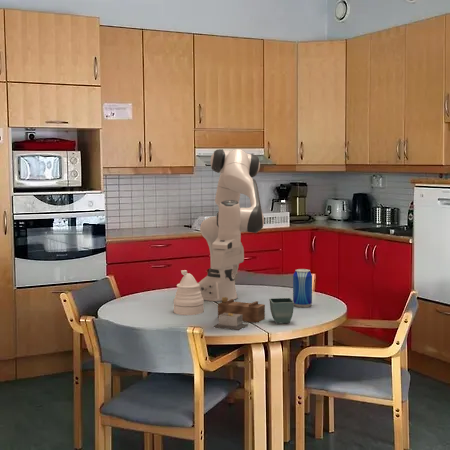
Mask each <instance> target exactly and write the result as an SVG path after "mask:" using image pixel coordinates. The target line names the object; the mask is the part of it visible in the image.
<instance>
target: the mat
mask: <svg viewBox="0 0 450 450" xmlns="http://www.w3.org/2000/svg"><path fill="white" fill-rule="evenodd" d="M248 326H249V325H248V324H247V323H243V325H241V326H239V327H228V326H220V325H219V322H218V323H217V324H215V325H214V324H213V328H214V327H215V328H216V329H217V328H218V329H222V330H223V329H225V330H231V331H232V330H234V331H240V330H242V328H243V329H244V328H246V327H248Z"/></svg>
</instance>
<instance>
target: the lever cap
mask: <svg viewBox="0 0 450 450" xmlns="http://www.w3.org/2000/svg"><path fill="white" fill-rule="evenodd" d="M218 323H219V325H220V326H228V327H239V326H241V325H243V324H244V321H243V315H241V314H233V313H223V314H220V315H219V318H218Z"/></svg>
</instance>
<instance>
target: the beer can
mask: <svg viewBox="0 0 450 450" xmlns="http://www.w3.org/2000/svg"><path fill="white" fill-rule="evenodd" d="M292 300H293V301H294V307H297V308H310V307H311V306H312V303H313V274H312V273H311V270H310V269H306V268H298V269H295V270H294V272H293V275H292ZM309 306H310V307H309Z"/></svg>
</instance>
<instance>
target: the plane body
mask: <svg viewBox="0 0 450 450" xmlns="http://www.w3.org/2000/svg"><path fill="white" fill-rule="evenodd" d="M223 313H233V314H241V315H243V322H248V323H249V322H250V323H256V322H258V323H260V322H262V321H263V320H266V304H264V303H259V301H258V300H257V301H256V300H255V301H252V302H245V301H243V302H241V301H235V299H231V300H228V298H227V297H223V298H222V301H221V302H219V303H218V304H217V319H219V315H220V314H223Z"/></svg>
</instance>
